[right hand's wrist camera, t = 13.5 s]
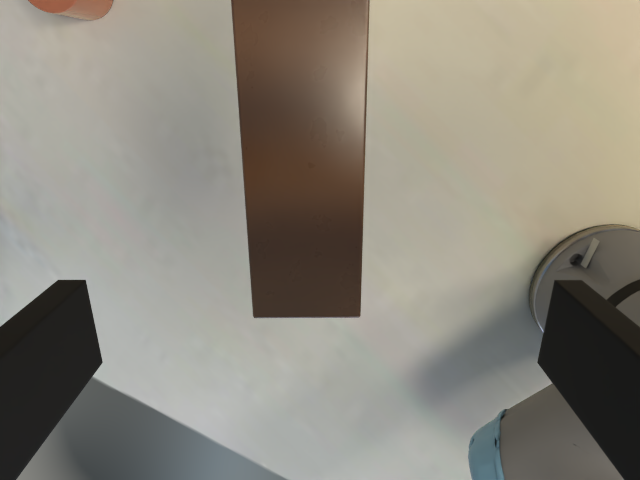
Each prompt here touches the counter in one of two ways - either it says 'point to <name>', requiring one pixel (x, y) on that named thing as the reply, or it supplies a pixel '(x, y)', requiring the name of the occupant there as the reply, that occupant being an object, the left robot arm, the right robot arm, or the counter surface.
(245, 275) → the counter surface
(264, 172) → the bar
